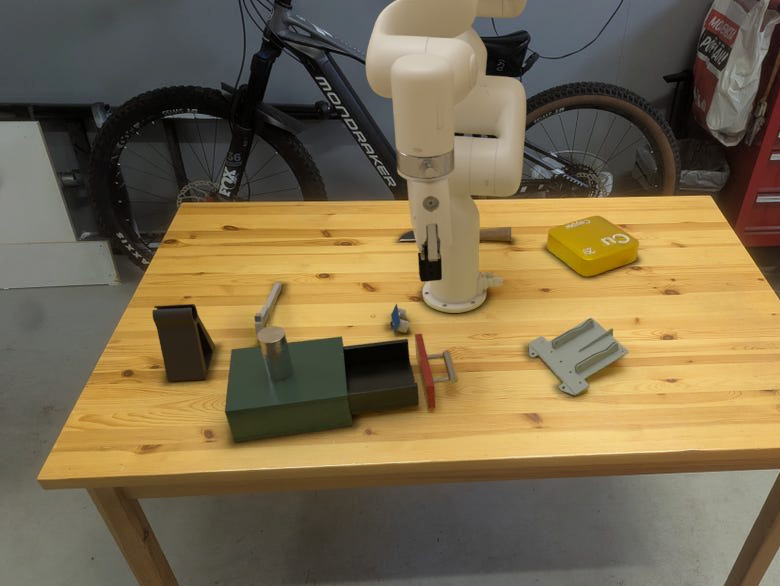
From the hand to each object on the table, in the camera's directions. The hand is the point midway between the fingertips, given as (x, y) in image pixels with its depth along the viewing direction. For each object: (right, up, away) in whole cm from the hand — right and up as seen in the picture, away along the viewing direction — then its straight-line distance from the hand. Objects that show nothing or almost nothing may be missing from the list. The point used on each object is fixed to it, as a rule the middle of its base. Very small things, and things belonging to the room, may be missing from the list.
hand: (430, 277), depth 98 cm
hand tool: (+2, +16, +50) cm, 52 cm away
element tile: (+31, +11, +46) cm, 57 cm away
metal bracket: (+25, -12, +19) cm, 34 cm away
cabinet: (-23, -19, +9) cm, 31 cm away
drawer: (-7, -16, +11) cm, 21 cm away
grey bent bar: (-32, -4, +27) cm, 42 cm away
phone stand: (-42, -13, +16) cm, 47 cm away
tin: (-24, -14, +5) cm, 28 cm away
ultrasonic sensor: (-8, -6, +25) cm, 27 cm away
